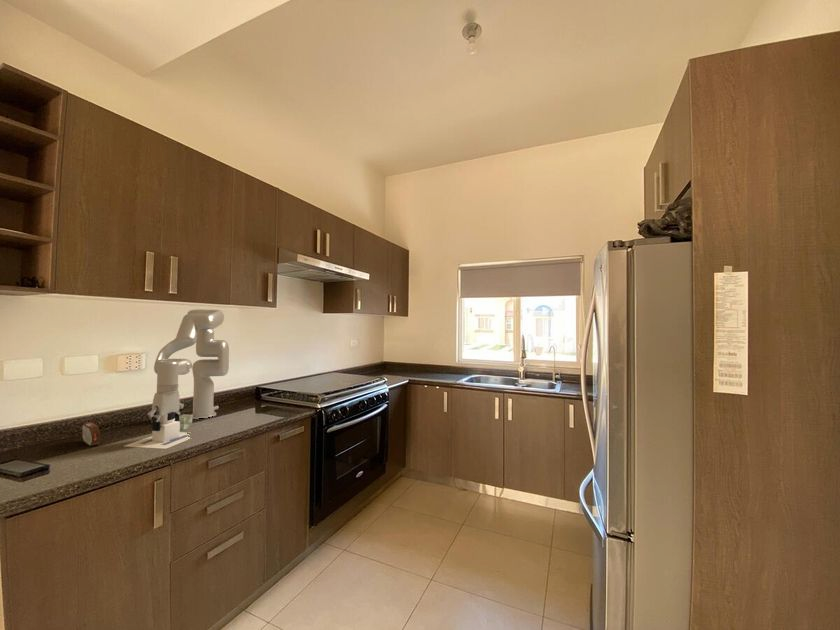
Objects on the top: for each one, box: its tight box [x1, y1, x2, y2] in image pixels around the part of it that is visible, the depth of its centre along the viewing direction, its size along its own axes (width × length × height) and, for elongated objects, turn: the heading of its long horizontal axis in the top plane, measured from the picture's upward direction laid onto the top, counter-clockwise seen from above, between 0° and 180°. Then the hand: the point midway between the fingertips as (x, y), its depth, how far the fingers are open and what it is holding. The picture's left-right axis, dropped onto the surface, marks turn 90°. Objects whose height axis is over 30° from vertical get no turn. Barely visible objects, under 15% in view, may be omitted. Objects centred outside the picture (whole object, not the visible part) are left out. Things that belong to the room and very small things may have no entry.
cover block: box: [179, 414, 193, 431], centre depth 164 cm, size 5×5×6 cm
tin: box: [81, 421, 101, 447], centre depth 142 cm, size 15×3×8 cm, turn 57°
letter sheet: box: [124, 431, 190, 450], centre depth 148 cm, size 20×20×1 cm
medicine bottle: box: [151, 412, 181, 442], centre depth 148 cm, size 7×7×12 cm
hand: (166, 427), depth 148 cm, fingers open, 9 cm apart
